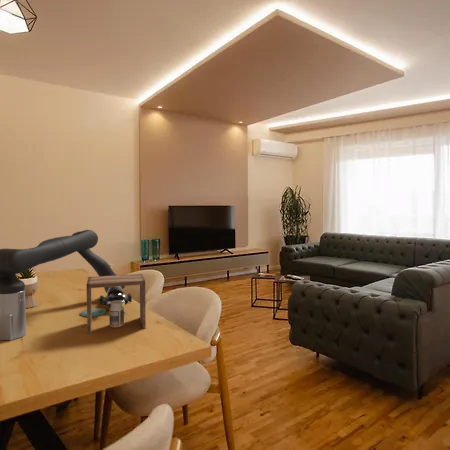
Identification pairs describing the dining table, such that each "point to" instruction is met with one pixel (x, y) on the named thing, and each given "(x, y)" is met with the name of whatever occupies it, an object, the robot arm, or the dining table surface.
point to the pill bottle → (116, 314)
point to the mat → (94, 312)
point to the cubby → (112, 282)
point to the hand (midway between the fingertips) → (115, 303)
